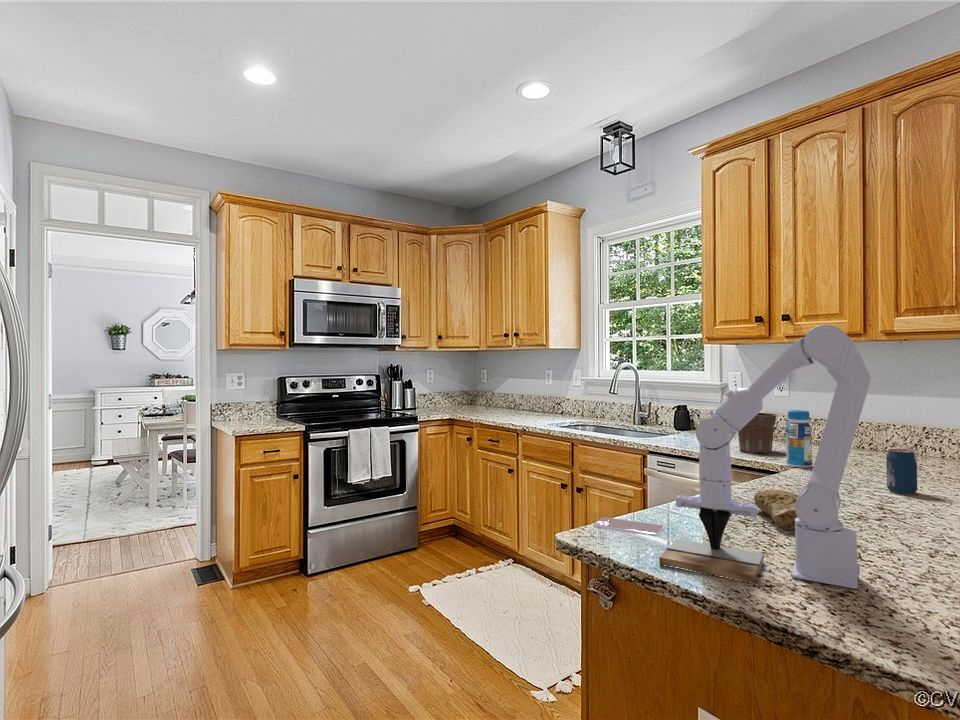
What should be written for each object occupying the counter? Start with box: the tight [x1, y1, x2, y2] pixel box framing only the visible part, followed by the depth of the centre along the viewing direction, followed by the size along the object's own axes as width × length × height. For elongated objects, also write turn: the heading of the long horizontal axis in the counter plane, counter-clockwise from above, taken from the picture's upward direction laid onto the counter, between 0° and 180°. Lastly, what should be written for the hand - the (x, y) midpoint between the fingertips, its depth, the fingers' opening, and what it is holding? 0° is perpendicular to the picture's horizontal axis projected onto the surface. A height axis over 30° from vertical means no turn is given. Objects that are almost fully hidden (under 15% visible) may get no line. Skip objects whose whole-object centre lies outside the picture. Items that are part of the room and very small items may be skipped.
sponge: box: [753, 489, 800, 531], centre depth 129 cm, size 13×8×20 cm
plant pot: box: [737, 412, 778, 454], centre depth 228 cm, size 16×16×16 cm
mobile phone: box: [593, 516, 665, 537], centre depth 125 cm, size 8×1×15 cm
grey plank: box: [668, 538, 765, 571], centre depth 104 cm, size 16×6×2 cm, turn 56°
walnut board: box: [658, 547, 760, 584], centre depth 98 cm, size 16×6×2 cm, turn 56°
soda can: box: [885, 448, 918, 496], centre depth 155 cm, size 7×7×12 cm
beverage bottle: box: [785, 409, 814, 469], centre depth 196 cm, size 8×8×20 cm
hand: (715, 548), depth 105 cm, fingers closed, pressing on grey plank
